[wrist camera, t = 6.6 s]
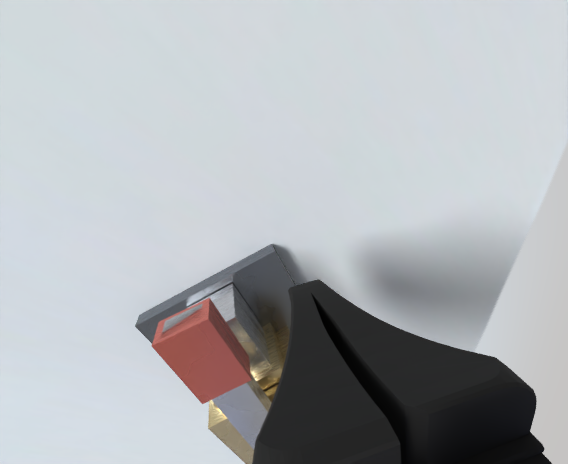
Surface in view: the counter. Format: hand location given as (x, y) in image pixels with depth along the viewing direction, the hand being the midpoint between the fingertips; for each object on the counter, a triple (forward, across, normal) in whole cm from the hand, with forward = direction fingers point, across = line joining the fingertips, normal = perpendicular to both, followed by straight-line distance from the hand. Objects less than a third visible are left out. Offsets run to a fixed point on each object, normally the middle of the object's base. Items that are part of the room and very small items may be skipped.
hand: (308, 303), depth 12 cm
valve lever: (+1, +4, +4) cm, 6 cm away
